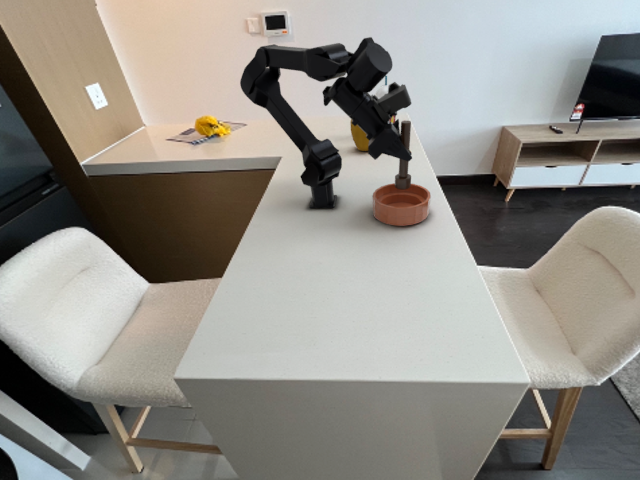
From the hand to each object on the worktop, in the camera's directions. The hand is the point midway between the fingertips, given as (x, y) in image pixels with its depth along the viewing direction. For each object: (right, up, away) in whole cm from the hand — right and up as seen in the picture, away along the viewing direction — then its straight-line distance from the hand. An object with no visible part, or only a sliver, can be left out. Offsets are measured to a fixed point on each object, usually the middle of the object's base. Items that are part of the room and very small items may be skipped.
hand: (410, 157), depth 73 cm
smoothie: (+3, +28, +56) cm, 63 cm away
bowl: (-1, -11, +9) cm, 14 cm away
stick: (-1, -5, +4) cm, 7 cm away
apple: (-5, +19, +45) cm, 49 cm away
